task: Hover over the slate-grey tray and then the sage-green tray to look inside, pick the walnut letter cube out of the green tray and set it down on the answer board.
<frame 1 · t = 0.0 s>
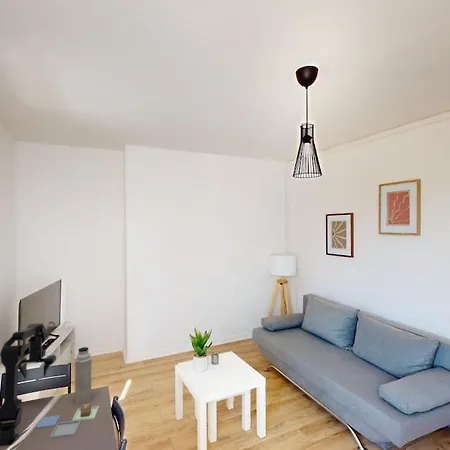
hand: (35, 377, 160), 15 cm above the table, fingers open, 9 cm apart
letter cube: (85, 414, 150), resting on green tray
answer board: (48, 423, 144), on the table
green tray: (85, 415, 150), on the table
thermos bottle: (83, 400, 164), on the table
grey tray: (65, 430, 138), on the table
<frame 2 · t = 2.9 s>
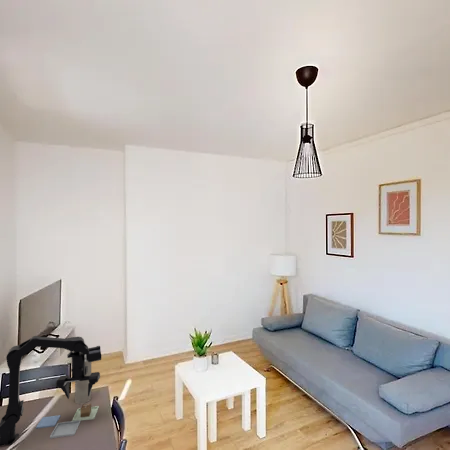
hand: (78, 397, 146), 12 cm above the table, fingers open, 9 cm apart
nothing on the table moved.
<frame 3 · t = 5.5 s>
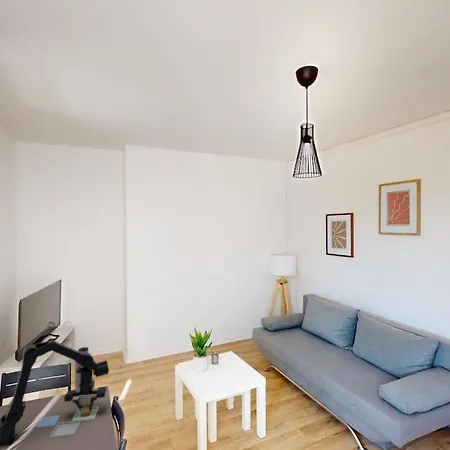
hand: (86, 411, 150), 2 cm above the table, fingers closed on letter cube, 4 cm apart
letter cube: (85, 414, 150), resting on green tray, touching gripper
everything else where it was.
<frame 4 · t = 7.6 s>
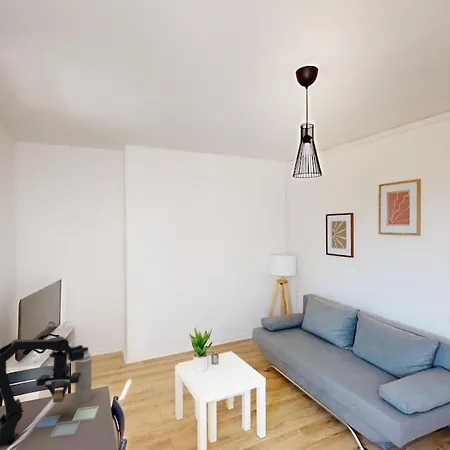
hand: (59, 397, 146), 11 cm above the table, fingers closed on letter cube, 4 cm apart
letter cube: (59, 400, 146), point 10 cm above the table, touching gripper
everything else where it was.
when the fingers open (4 cm above the table, at t = 9.7 s): letter cube drops 2 cm, resting on answer board.
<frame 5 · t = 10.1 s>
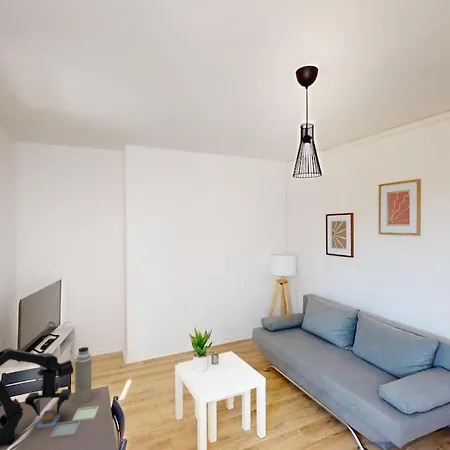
hand: (48, 414, 144), 4 cm above the table, fingers open, 8 cm apart
letter cube: (48, 420, 144), point 1 cm above the table, touching answer board
everything else where it was.
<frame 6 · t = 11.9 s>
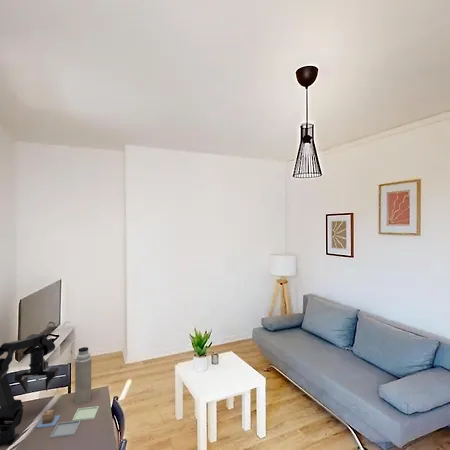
hand: (36, 391, 151), 12 cm above the table, fingers open, 9 cm apart
nothing on the table moved.
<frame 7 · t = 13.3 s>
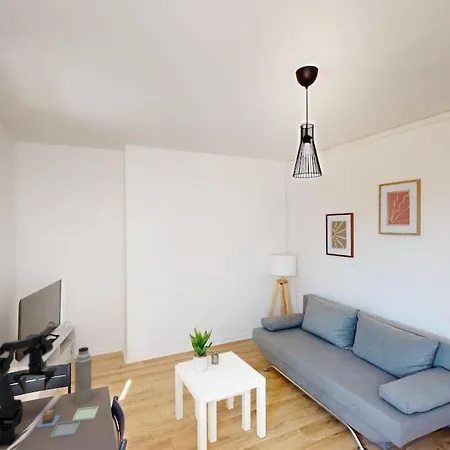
hand: (35, 391, 151), 12 cm above the table, fingers open, 9 cm apart
nothing on the table moved.
at the end: letter cube 0.0 cm off-centre on the answer board, point 1.0 cm above the answer board's base; letter cube tilted 0°; the gripper is holding nothing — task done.
